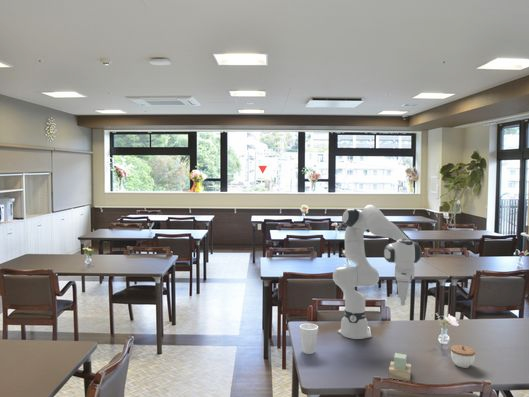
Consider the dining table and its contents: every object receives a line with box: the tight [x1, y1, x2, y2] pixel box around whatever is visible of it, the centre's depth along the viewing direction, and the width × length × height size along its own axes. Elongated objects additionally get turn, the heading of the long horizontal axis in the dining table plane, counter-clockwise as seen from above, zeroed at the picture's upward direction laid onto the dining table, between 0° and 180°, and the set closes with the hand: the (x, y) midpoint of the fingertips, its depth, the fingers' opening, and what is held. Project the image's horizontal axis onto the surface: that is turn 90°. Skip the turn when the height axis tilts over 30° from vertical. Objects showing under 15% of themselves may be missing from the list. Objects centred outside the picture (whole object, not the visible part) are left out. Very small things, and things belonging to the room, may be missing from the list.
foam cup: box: [299, 322, 319, 355], centre depth 223 cm, size 10×9×13 cm
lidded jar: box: [450, 344, 476, 369], centre depth 209 cm, size 11×11×9 cm
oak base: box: [388, 360, 412, 382], centre depth 197 cm, size 9×9×4 cm
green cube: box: [393, 352, 408, 370], centre depth 197 cm, size 5×5×5 cm
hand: (403, 302), depth 207 cm, fingers open, 8 cm apart
